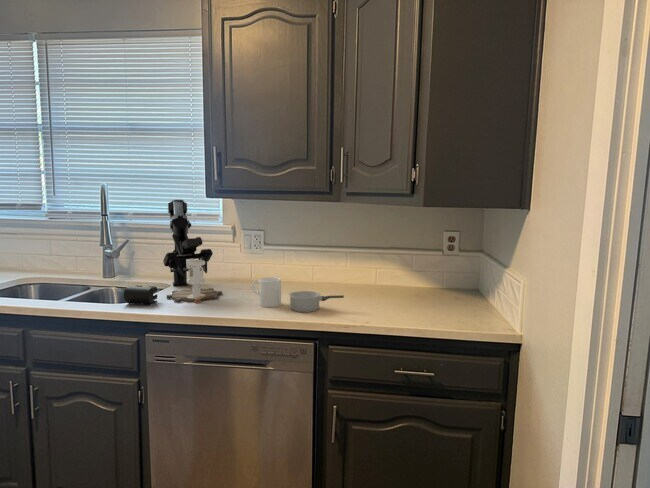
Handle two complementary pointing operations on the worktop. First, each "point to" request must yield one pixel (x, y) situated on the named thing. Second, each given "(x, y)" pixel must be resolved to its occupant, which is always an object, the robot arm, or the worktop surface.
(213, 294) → the sprocket plate
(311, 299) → the saucepan
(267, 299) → the mug
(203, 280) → the light grey tall piece
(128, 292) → the end cap
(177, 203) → the robot arm
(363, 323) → the worktop surface
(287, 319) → the worktop surface
